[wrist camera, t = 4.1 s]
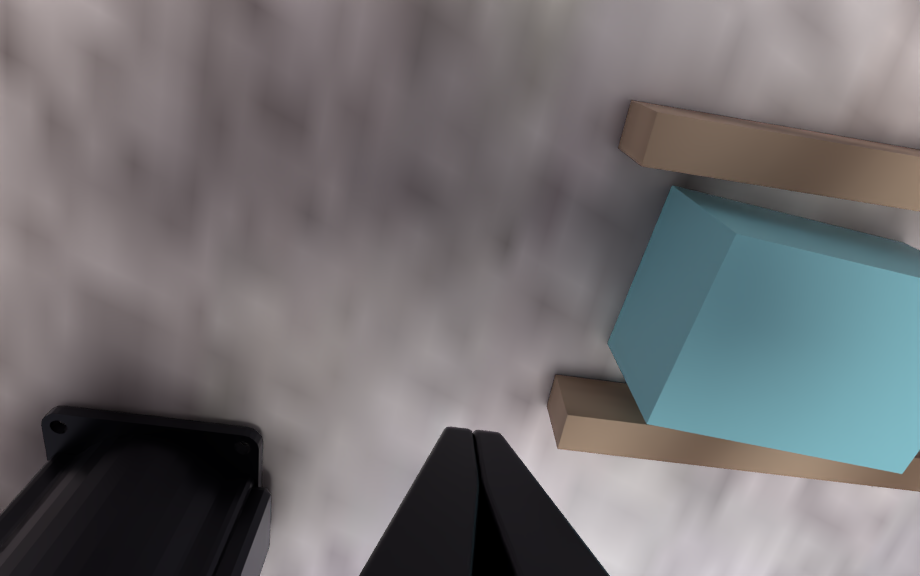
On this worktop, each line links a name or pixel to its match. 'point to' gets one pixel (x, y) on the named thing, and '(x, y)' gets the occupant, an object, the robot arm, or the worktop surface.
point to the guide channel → (759, 163)
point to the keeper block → (775, 333)
